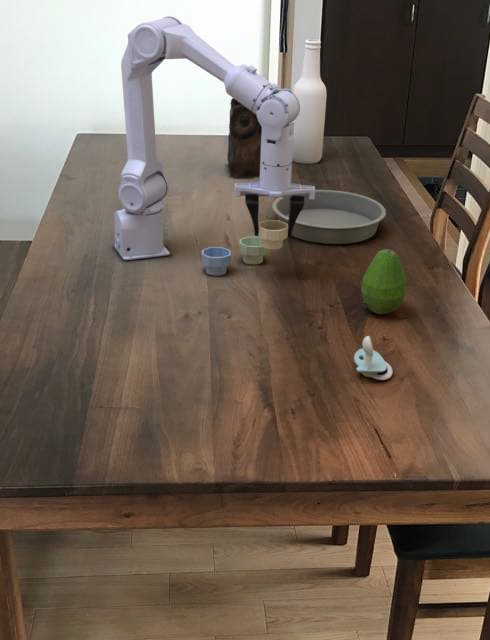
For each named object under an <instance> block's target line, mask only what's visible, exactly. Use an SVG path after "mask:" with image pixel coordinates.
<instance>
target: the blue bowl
mask: <svg viewBox="0 0 490 640" xmlns="http://www.w3.org/2000/svg"><path fill="white" fill-rule="evenodd" d="M231 263H232V250H231V249H229V248H226V247H223V246H209V247H206V248H203V249H202V250H201V264H202V265H204V266H205V273H206V274H207V275H209V276H214V277H216V276H217V277H219V276H223V275H225V274H226V273H227V267H228V266H230V265H231Z"/></svg>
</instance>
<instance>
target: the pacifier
mask: <svg viewBox="0 0 490 640" xmlns="http://www.w3.org/2000/svg"><path fill="white" fill-rule="evenodd" d="M361 345H362V348H359V349H358V350H356V352H355V353H354V357H353V359H354V361H353V362H354V364H355V365H356V366H357V367H356V369H355V370H356V372H358V373H361V374H362V376H364V377H366V378H372V379H374V380H377V381H385V380H389V379H391V377H393V373H394V371H393V368H392V366H391V365H390V363H389V362H387V361H385V360H384V358H383V356H382V355H381V354H380V353H379V352H378V351H376V350H374V347H373V343H372V339H371V336H370V335H367V336H365V337H364V338H363V340H362V343H361ZM360 358H363V359H360ZM385 371H386V373H384V374H380V373H383V372H385ZM378 373H379V374H378Z"/></svg>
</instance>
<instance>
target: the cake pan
mask: <svg viewBox="0 0 490 640" xmlns="http://www.w3.org/2000/svg"><path fill="white" fill-rule="evenodd" d="M289 207H290V197H277V198H276V199H275V200H274V201H273V203H272V210H273V212H274V213H275V214H276V215H277V218H278V219H277V220H279V221H282V222H285V223H287V224H288V220H289ZM386 214H387V211H386V208H385V207H384V205H382V204H381V203H380V202H378V201H377V200H376V199H373V198H370V197H368V196H366V195H362V194H358V193H355V192H350V191H343V190H333V189H315V198H314V199H308V198H304V206H303V208H302V210H301V212H300V213H299V215H298V217H297V219H296V222H295V224H294V227H293V231H292V235H291V237H294V238H296V239H299V240H302V241H307V242H311V243H316V244H323V245H324V244H325V245H345V244H347V245H348V244H354V243H355V244H356V243H360V242H364V241H366V240H369V239H371V238H373V236H374V235H375V234H376V233H377V229H378V226H379V224H380V222H381V221H383V220H384V218H385V217H386Z"/></svg>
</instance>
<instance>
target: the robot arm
mask: <svg viewBox="0 0 490 640" xmlns="http://www.w3.org/2000/svg"><path fill="white" fill-rule="evenodd" d="M185 59H186V60H188V61H190V62H191V63H193V64H194V65H195V66H197V67H199V68H201V69H202V70H203V71H205V72H207V73H208V74H210V75H212V76H213V77H214V78H215V79H217V80H219V81H221V82H222V83H223V84H224V87H225V88H224V89H225V92H226V94H227V95H228V96H230V97H231V98H234V99H235V100H237V101H238V102H240V103H241V104H242V105H244V106H245V107H246V108H248V109H249V110H251V111H252V112H253V113H255V114H256V115H257V119H258V121H259V123H260V125H261V127H262V136H261V157H260V176H259V181H256V182H254V181H253V182H240V183H238V182H236V183H234V198H241V197H244V203H245V205H246V208H247V210H248V212H249V215H250V217H251V221H252V226H253V231H254V237H259V236H258V233H259V229H258V223H259V211H260V210H259V208H260V197H261V198H263V197H264V198H279V197H290V207H289V220H288V237H287V238H291V237H292V236H291V235H292V231H293V227H294V224H295V222H296V219H297V217H298V215H299V213H300V212H301V210H302V208H303V206H304V198H308V199H314V198H315V190H316V186H315V185H308V184H307V185H306V184H298V183H292V171H293V161H292V157H293V140H294V122H293V121H294V120H295V119H296V118H297V116H298V115H299V112H300V103H299V100H298V98H297V97H296V95H295V94H293V90H291V89H288V88H279V85H278V84H277V83H275V82H272V83H271V82H270V81H269V80H268V79H266V78H264V77H263V76H262V75H260V74H259V73H257V71H258V68H257V67H256V66H254V65H253V64H251V65H249V66H248V65H246V64H240V65H234V63H232V62H231V61H230V60H228V59H227V58H226V57H225V56H223V55H222V54H221V53H220V52H219V51H217V50H216V49H215V48H213V46H211V45H210V44H209V43H208V42H207V41H205V40H204V39H203V38H201V37H200V36H199V35H197V33H196V32H195V31H194V29H193V28H192V27H191V26H190V25H188V24H186V23H183V22H182V21H181V20H180V19H179V18H177V17H175V16H171V15H168V16H164V17H163V18H159V19H155V20H152V21H144V22H141V23H139V24H138V25H136V26H135V27H134V28H133V29H132V30H130V32H128V33H127V45H126V47H125V50H124V53H123V55H122V58H121V63H120V70H121V82H122V95H123V97H122V98H123V111H124V122H125V137H126V150H127V162H126V163H125V166H124V167H123V169H122V171H121V174H120V178H121V181H120V185H119V187H118V192H117V195H118V196H117V197H118V200H119V203H120V205H121V206H122V208H123V209H120V210H116V211H114V212H113V213H114V214H113V229H114V230H113V231H114V246H113V247H114V249H115V250H116V252H118V254H119V255H120V257H121V258H122V260H124V261H131V260H141V259H148V258H157V257H166V256H170V254H171V253H170V251H169V250H168V249H167V248H166V246H165V245H164V215H163V214H164V213H163V212H164V211H163V210H164V209H163V205H164V199H165V198H166V197H167V195H168V194H169V189H170V186H169V185H170V184H169V181H168V179H167V177H166V174H165V170H164V164H163V163H162V162H161V161H160V160H159V159H158V157H157V141H156V140H157V139H156V125H155V124H156V123H155V122H156V121H155V108H154V107H155V105H154V90H153V88H154V87H153V72H154V71H155V70H156V69H157V68H158V67H159V66H160V65H161V64H162V63H163V62H164V61H165V60H185ZM291 122H293V123H291Z"/></svg>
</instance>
